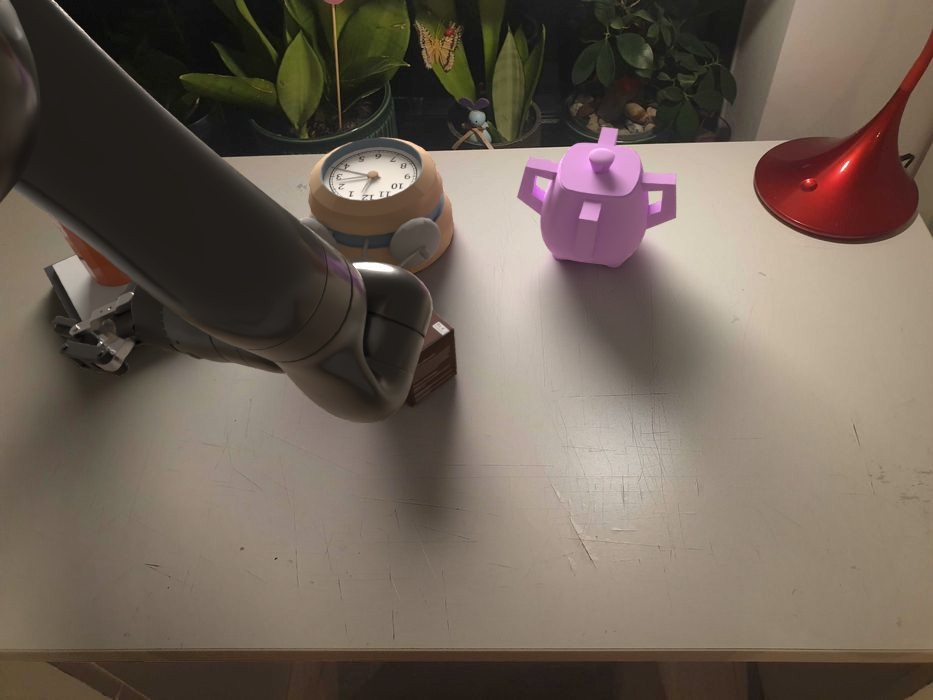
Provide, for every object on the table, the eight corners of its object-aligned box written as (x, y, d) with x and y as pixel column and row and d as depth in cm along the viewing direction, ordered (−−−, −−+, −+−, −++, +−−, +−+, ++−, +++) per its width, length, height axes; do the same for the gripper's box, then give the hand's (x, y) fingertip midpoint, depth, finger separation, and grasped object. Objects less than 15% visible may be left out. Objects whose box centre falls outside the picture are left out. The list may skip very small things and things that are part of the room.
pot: (532, 184, 84) (535, 99, 75) (672, 201, 81) (693, 115, 72) (500, 282, 73) (500, 198, 64) (660, 307, 70) (684, 221, 61)
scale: (99, 367, 68) (84, 349, 66) (54, 283, 77) (40, 264, 74) (223, 303, 73) (214, 284, 71) (168, 230, 82) (158, 211, 79)
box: (374, 373, 66) (362, 325, 60) (421, 341, 69) (413, 292, 63) (412, 410, 63) (403, 363, 58) (459, 375, 66) (455, 327, 60)
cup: (117, 294, 71) (69, 222, 63) (80, 273, 73) (29, 201, 65) (162, 259, 74) (122, 186, 66) (126, 240, 76) (82, 167, 68)
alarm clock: (454, 122, 77) (437, 259, 63) (458, 187, 84) (444, 323, 70) (311, 123, 78) (263, 258, 64) (327, 187, 86) (287, 320, 71)
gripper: (229, 211, 52) (111, 203, 61) (116, 357, 46) (2, 326, 54) (281, 273, 58) (167, 258, 66) (187, 411, 52) (74, 375, 60)
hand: (93, 288), depth 60 cm, fingers open, 8 cm apart
